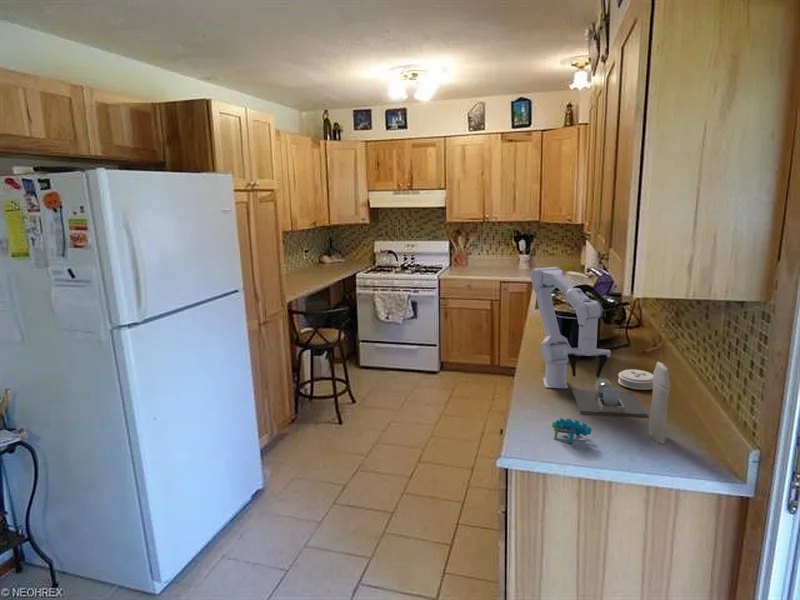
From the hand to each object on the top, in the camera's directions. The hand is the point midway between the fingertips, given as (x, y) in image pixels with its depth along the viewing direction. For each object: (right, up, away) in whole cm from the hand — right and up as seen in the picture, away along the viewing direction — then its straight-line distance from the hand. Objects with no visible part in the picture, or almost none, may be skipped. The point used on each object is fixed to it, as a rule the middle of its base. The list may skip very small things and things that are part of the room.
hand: (585, 375), depth 169 cm
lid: (+24, -6, +14) cm, 29 cm away
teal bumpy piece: (-13, -15, -24) cm, 31 cm away
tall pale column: (+12, -14, -24) cm, 30 cm away
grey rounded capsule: (+6, -9, -6) cm, 12 cm away
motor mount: (+7, -9, -1) cm, 11 cm away
